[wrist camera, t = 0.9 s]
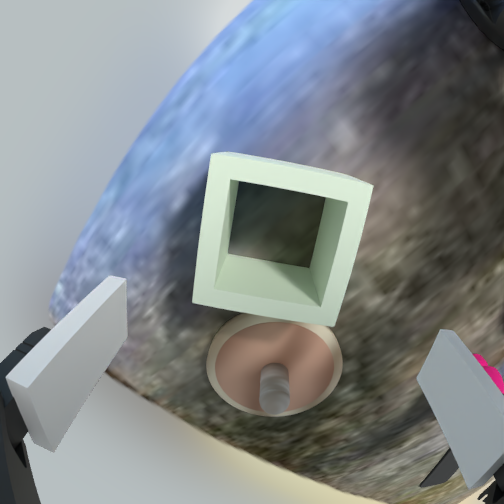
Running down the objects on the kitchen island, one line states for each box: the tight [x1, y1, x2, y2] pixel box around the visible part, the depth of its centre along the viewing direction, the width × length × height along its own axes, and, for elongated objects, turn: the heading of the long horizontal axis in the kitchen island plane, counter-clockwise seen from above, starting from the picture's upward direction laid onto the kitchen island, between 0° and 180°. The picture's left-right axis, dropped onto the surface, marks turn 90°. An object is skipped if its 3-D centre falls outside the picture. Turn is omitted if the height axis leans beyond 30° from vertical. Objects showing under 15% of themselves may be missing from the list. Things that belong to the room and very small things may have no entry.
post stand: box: [206, 313, 343, 417], centre depth 31 cm, size 15×15×8 cm
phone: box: [420, 448, 459, 487], centre depth 42 cm, size 7×1×15 cm
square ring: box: [192, 152, 373, 327], centre depth 26 cm, size 11×11×8 cm
